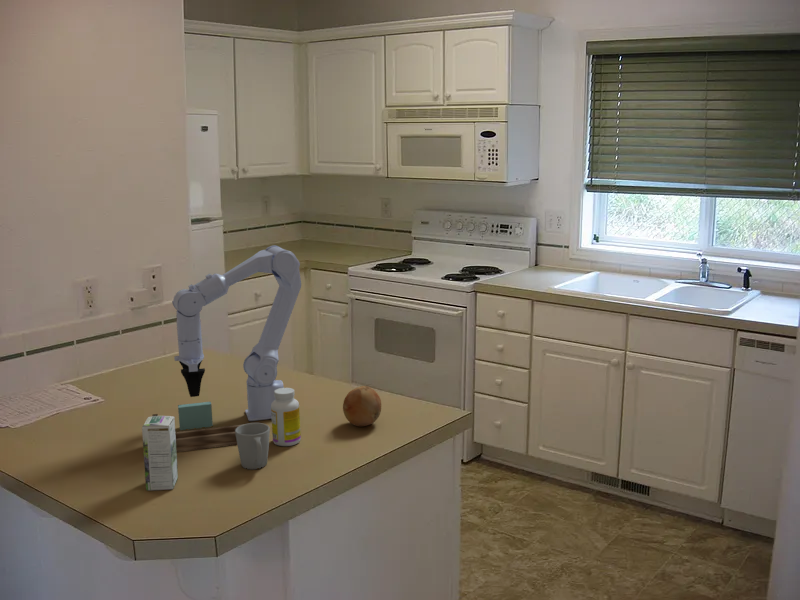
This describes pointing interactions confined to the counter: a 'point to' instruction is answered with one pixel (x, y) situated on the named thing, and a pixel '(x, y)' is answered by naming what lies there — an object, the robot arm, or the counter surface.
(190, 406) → the teal rectangular block
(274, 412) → the supplement bottle
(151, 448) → the syrup box
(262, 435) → the cup
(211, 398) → the counter surface
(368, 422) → the grapefruit
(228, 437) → the track
